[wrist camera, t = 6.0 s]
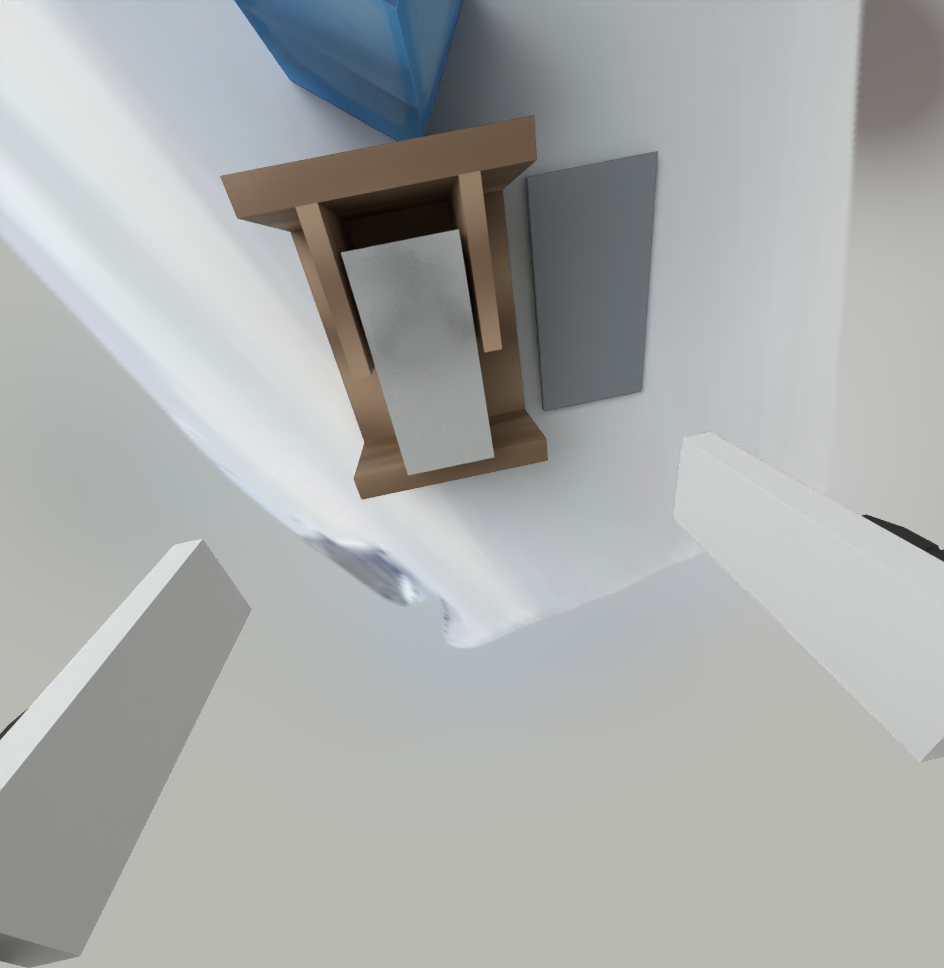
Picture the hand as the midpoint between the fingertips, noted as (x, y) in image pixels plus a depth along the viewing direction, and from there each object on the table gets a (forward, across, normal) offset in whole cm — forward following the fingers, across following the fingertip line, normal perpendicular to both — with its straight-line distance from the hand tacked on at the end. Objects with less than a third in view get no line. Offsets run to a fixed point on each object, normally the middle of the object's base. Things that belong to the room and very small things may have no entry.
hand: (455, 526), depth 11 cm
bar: (+12, 0, +2) cm, 13 cm away
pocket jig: (+16, 0, +2) cm, 16 cm away
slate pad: (+16, +10, +3) cm, 20 cm away
